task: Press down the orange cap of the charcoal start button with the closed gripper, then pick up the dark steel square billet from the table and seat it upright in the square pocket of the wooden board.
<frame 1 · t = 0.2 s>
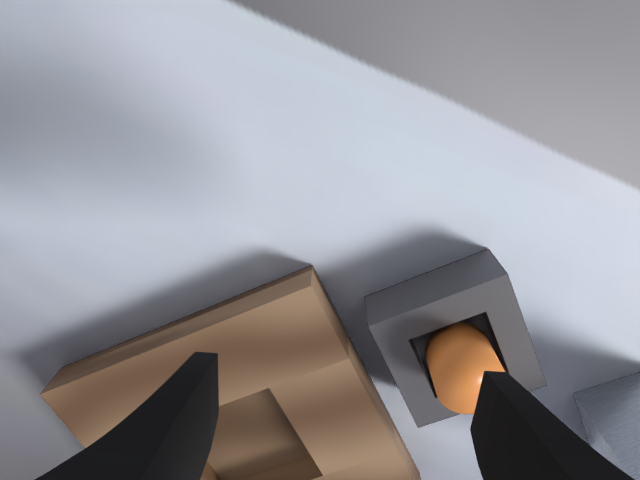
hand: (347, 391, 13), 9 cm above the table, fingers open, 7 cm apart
button cap: (463, 367, 20), point 3 cm above the table, slide at 0.0 cm
button housing: (446, 324, 23), on the table
billet: (621, 409, 25), on the table
wooden board: (248, 422, 26), on the table
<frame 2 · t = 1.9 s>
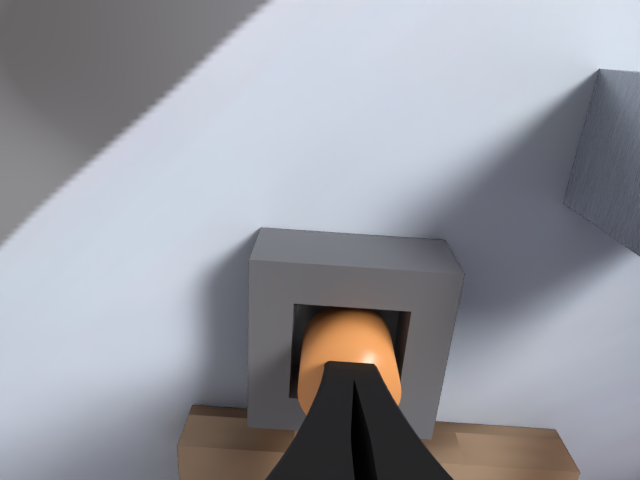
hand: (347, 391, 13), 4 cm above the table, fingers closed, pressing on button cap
button cap: (347, 365, 14), point 3 cm above the table, slide at -0.3 cm, touching gripper
button housing: (345, 313, 17), on the table
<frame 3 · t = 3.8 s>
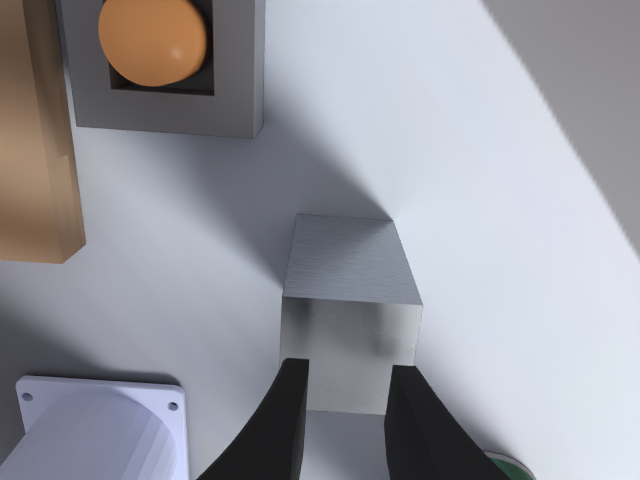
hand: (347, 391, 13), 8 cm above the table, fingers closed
button cap: (159, 36, 15), point 2 cm above the table, slide at -0.7 cm
button housing: (182, 37, 18), on the table
billet: (341, 260, 21), on the table
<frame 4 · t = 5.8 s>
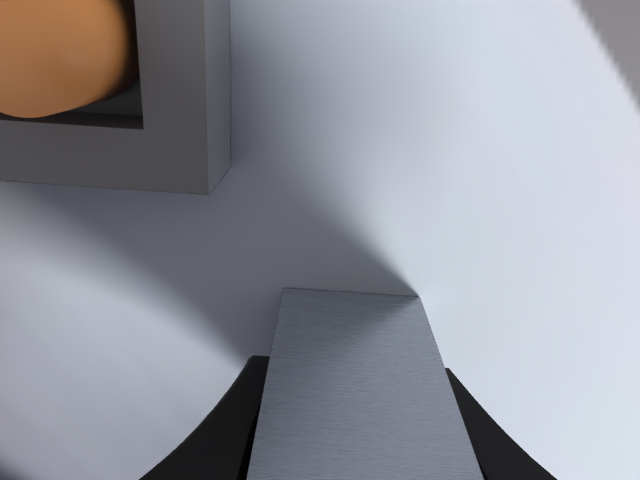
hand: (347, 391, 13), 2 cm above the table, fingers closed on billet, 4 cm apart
button cap: (49, 34, 9), point 2 cm above the table, slide at -0.7 cm
button housing: (104, 35, 12), on the table
billet: (345, 349, 15), on the table, touching gripper
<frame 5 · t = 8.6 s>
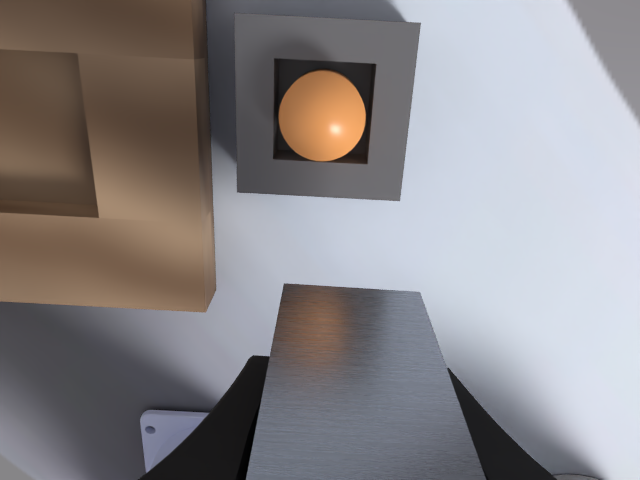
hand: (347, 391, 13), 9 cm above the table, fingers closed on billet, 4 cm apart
button cap: (322, 113, 17), point 2 cm above the table, slide at -0.7 cm
button housing: (323, 104, 19), on the table
billet: (346, 344, 15), point 7 cm above the table, touching gripper
wooden board: (37, 127, 20), on the table
when the fingers open (3 cm above the table, at t = 11.4 s): billet stays where it is, resting on wooden board.
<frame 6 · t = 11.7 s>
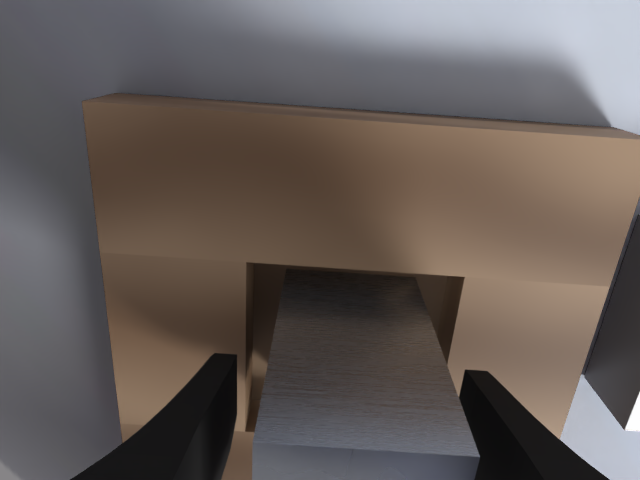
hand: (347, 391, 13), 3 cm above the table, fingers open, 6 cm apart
billet: (345, 328, 16), resting on wooden board
wooden board: (344, 323, 16), on the table
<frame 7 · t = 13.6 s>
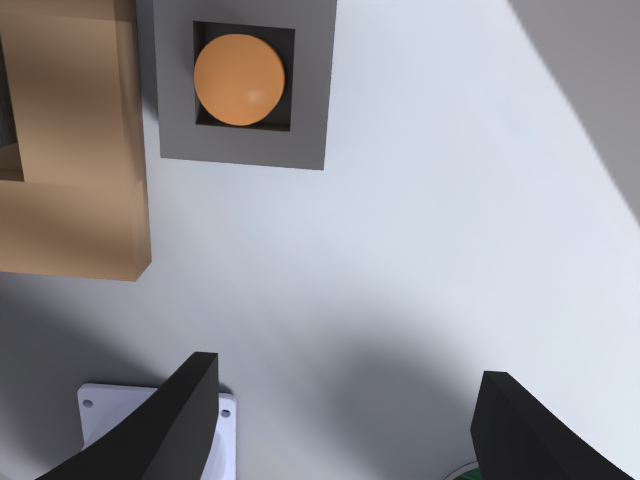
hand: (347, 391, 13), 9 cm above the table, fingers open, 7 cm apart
button cap: (243, 78, 17), point 2 cm above the table, slide at -0.7 cm
button housing: (253, 74, 19), on the table
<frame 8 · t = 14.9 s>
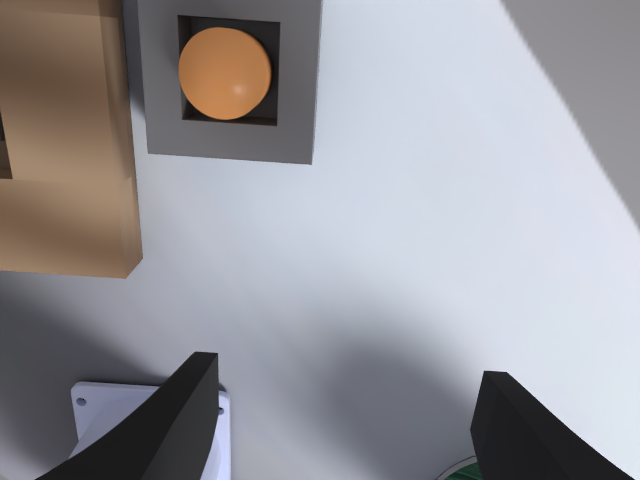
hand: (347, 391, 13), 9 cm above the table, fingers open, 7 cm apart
button cap: (229, 72, 17), point 2 cm above the table, slide at -0.7 cm
button housing: (241, 68, 19), on the table
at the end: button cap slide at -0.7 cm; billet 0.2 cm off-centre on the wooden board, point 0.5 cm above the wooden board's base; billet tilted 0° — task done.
